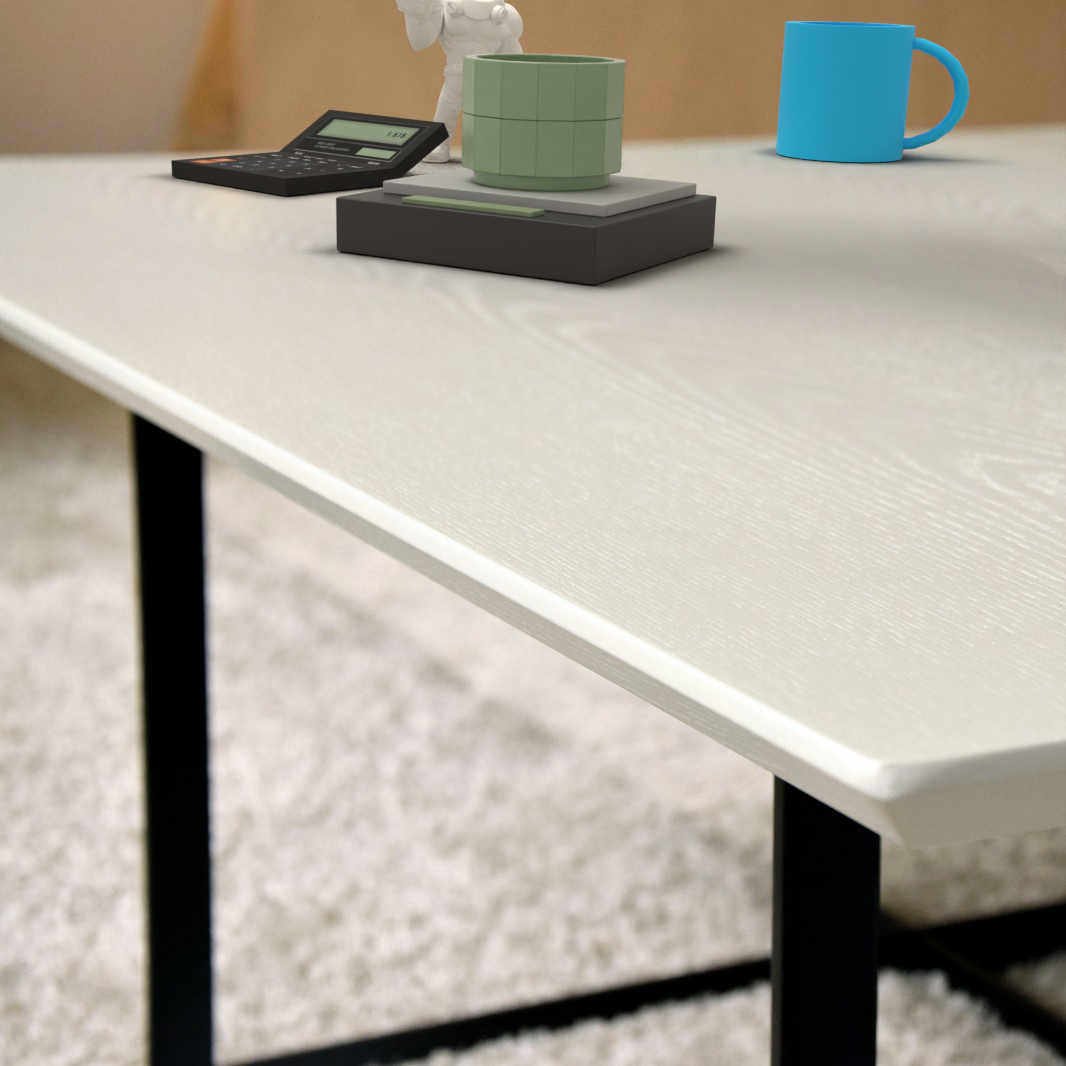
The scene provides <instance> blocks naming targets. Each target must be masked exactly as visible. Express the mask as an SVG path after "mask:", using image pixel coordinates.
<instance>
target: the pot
mask: <svg viewBox="0 0 1066 1066" xmlns="http://www.w3.org/2000/svg"><path fill="white" fill-rule="evenodd" d="M626 69H627V60H626V59H623V58H615V57H607V56H597V55H596V56H595V55H582V54H581V55H580V54H559V53H525V52H523V53H499V54H473V55H467V56H464V57H463V86H462V109H461V111H462V114H461V166H462V167H461V168H467V169H470V170H473V181H474V182H476V183H478V184H481V185H485V186H490V187H496V188H503V189H513V190H527V191H582V190H592V189H599V188H603V187H606V186H608V185H610V176H611V175H615V174H618V173H621V171H622V165H623V164H622V163H623V142H624V141H623V139H624V120H625V119H624V114H625V95H626V94H625V93H626V72H627V71H626Z"/></svg>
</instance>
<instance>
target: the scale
mask: <svg viewBox="0 0 1066 1066" xmlns="http://www.w3.org/2000/svg"><path fill="white" fill-rule="evenodd" d="M716 213H717V196H716V195H709V194H701V193H697V183H695V182H688V181H687V182H684V181H676V180H668V179H667V180H665V179H664V180H663V179H657V178H656V179H655V178H644V177H636V176H635V177H634V176H625V175H615V174H611V176H610V185H608V186H606V187H603V188H599V189H592V190H582V191H527V190H513V189H503V188H496V187H490V186H485V185H481V184H478V183H476V182H474V181H473V170H470V169H467V168H465V167H460V168H459V167H458V168H453V169H448V170H442V171H436V172H428V173H424V174H416V175H411V176H404V177H401V178H399V179H393V180H387V181H383V186H382V189H375V190H370V191H364V192H358V193H352V194H346V195H341V196H336V198H335V225H336V227H335V228H336V229H335V232H336V237H335V238H336V251H338V252H342V253H351V254H356V255H357V254H358V255H365V256H372V257H381V258H386V259H387V258H389V259H395V260H401V261H402V260H403V261H410V262H417V263H425V264H433V265H439V266H448V267H456V268H461V269H469V270H477V271H485V272H491V273H499V274H507V275H513V276H514V275H515V276H523V277H529V278H537V279H545V280H552V281H560V282H568V283H574V284H582V285H589V286H593V285H598V284H600V283H603V282H607V281H610V280H614V279H617V278H619V277H623V276H625V275H629V274H632V273H636V272H638V271H642V270H645V269H647V268H651V267H655V266H657V265H660V264H663V263H666V262H671V261H673V260H677V259H680V258H683V257H686V256H689V255H692V254H695V253H699V252H702V251H705V250H708V249H712V248H714V245H715V229H716V228H715V227H716Z"/></svg>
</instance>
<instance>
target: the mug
mask: <svg viewBox="0 0 1066 1066" xmlns="http://www.w3.org/2000/svg"><path fill="white" fill-rule="evenodd" d="M915 33H916V26H915V25H910V24H909V25H908V24H897V23H895V24H894V23H879V22H878V23H875V22H853V21H852V22H851V21H814V20H813V21H812V20H811V21H808V20H807V21H806V20H805V21H804V20H801V21H800V20H799V21H798V20H795V21H794V20H793V21H785V23H784V35H783V51H782V62H781V75H780V90H779V103H778V116H777V130H776V143H775V153H776V154H778V155H779V156H784V157H788V158H793V159H795V158H796V159H802V160H810V161H811V160H812V161H821V162H822V161H823V162H837V163H839V162H840V163H885V162H895V161H900V160H902V158H903V154H904V151H906V150H907V151H908V150H916V149H918V148H921V147H924V146H926V145H930V144H933V143H935V142H937V141H938V140H940V139H941V138H942V137H944V136H945V135H947V134H948V133H950V132H951V131H953V129H955V127H956V126H957V124H958V123H959V122H960V120H961V119H962V118H963V116H964V115H965V112H966V110H967V106H968V103H969V100H970V85H969V78H968V75H967V74H966V72H965V70H964V68H963V66H962V64H961V62H960V60H959V59H958V58H956V57H955V56H954V55H953V54H952V53H951V52H950V51H949V50H947V48H945V47H943V46H941V45H940V44H938V43H935V42H933V41H931V40H929V39H926V38H922V37H915ZM915 50H916V51H920V52H922V53H924V54H926V55H929V56H930V57H932V58H935V59H936V60H937V61H938V62H939V63H940V64H941V65H942V66H943V67H944V68H945V69H946V70H947V72H948V75H949V76H950V78H951V80H952V82H953V90H954V91H953V94H954V97H953V100H952V103H951V106H950V109H949V110H948V112H947V114H946V115H945V116H944V117H943V118H942V120H941V121H940V122H939V123H938V124H936V125H935V126H933V127H931V128H930V129H929V130H927V131H926V132H923V133H920V134H917V135H913V136H911V137H905V134H906V126H907V125H906V123H907V115H908V114H907V113H908V112H907V111H908V105H909V94H910V93H909V92H910V84H911V73H912V64H913V53H914V51H915Z"/></svg>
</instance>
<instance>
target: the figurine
mask: <svg viewBox="0 0 1066 1066" xmlns="http://www.w3.org/2000/svg"><path fill="white" fill-rule="evenodd" d="M395 4H396V5H397V10H398V11H399V12H400V13H401V12H402V13H404V22H405V30H406V35H407V39H408V41H409V44H410V47H411V49H412V50H414V51H416V52H420V51H422V50H424V49H427V48H429V47H431V46H432V45H433V44H434V43H435V42H436V41H437V40H438V42H439V45H440V46H441V49H442V51H443V53H444V54H445V55H446V65H444V67H443V71H442V72H443V74H442V75H443V77H445V78H444V82H443V85H442V87H441V90H440V93H439V98H438V99H437V103H436V111H435V113H434V117H433V121H432V122H441V123H444V124H445V126H446V129H447V131H448V134H449V137H448V138H447V139H446V140H445V141H444V142H442V143H441V144H440V145H439V146H438V147H437V148H435V149H434V150H433V151H432V152H431V153H430V154H428V155H427V156H426V157H425V158H424V159H422V162H425V163H446V162H449V160H450V159H451V140H454V139H455V134H456V133H455V128H456V127H457V121H458V118H459V115H460V113H461V111H462V86H463V57H464V56H467V55H473V54H499V53H524V51H523V49H522V48H523V47H522V46H521V43H520V41H519V40H520V38H521V36H522V34H523V31H524V23H523V19H522V16H521V15H520V13H519V12H518V10H517V9H516V8H515V7H514V6H513V5H512V4H509V3H507V2H505V0H395Z"/></svg>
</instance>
